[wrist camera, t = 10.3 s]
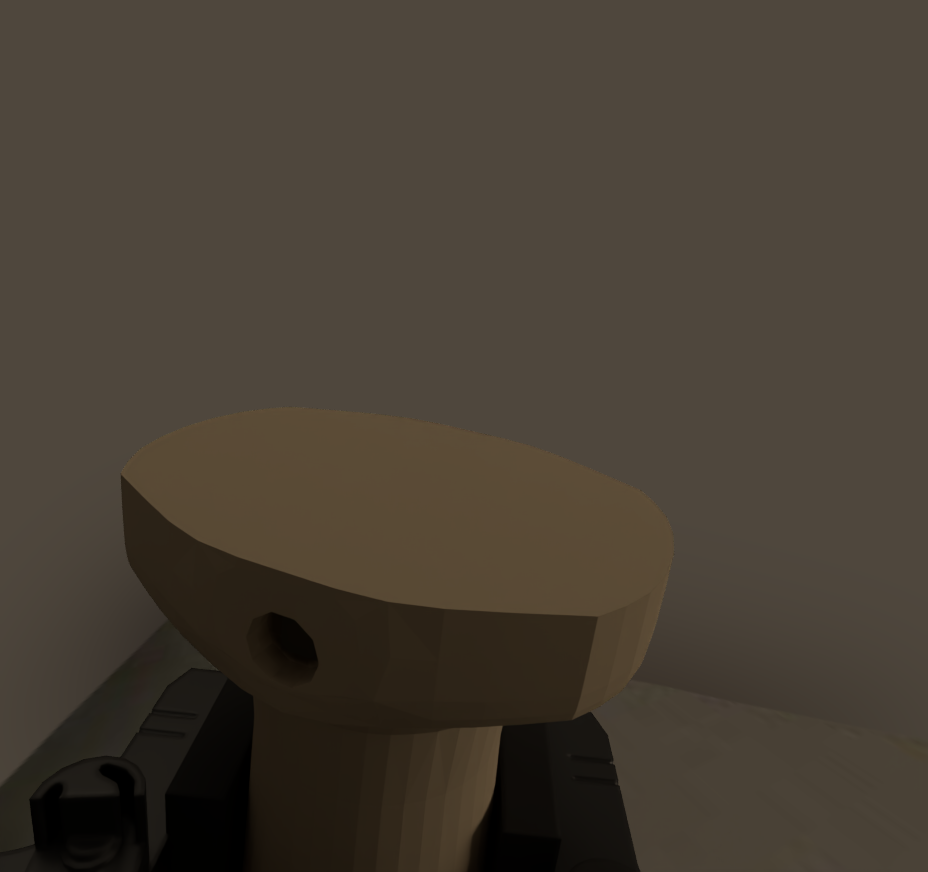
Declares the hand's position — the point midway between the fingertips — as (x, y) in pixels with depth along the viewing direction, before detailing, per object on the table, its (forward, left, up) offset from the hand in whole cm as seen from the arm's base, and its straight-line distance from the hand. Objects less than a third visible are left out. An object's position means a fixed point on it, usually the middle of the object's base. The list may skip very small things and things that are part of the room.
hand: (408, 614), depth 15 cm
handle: (+2, +5, -10) cm, 11 cm away
